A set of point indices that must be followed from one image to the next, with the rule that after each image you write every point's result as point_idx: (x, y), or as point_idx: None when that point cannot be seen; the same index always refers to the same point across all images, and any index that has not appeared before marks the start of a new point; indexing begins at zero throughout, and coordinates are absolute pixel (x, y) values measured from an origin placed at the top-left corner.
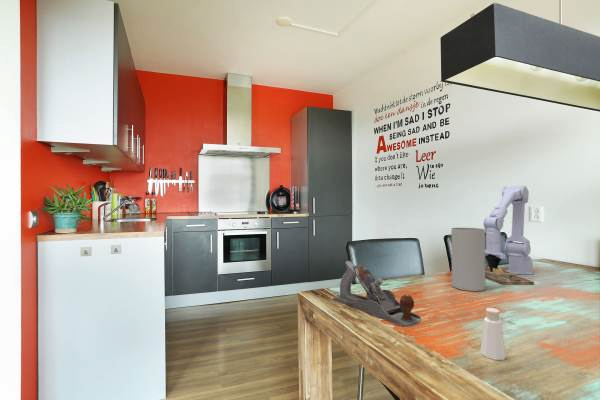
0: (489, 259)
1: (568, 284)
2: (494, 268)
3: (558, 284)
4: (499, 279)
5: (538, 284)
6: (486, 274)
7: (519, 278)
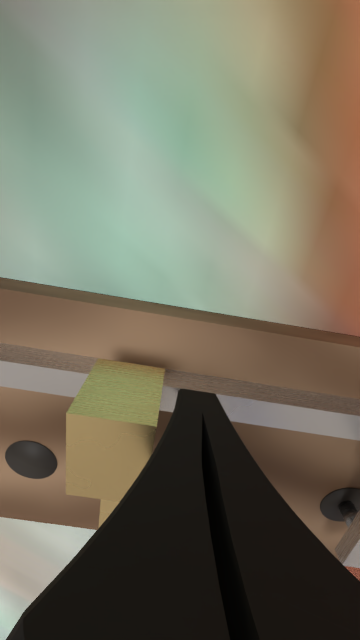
0: (169, 588)
1: (16, 617)
2: (107, 419)
3: (14, 589)
4: (65, 341)
5: (8, 519)
6: (293, 373)
7: (93, 507)
